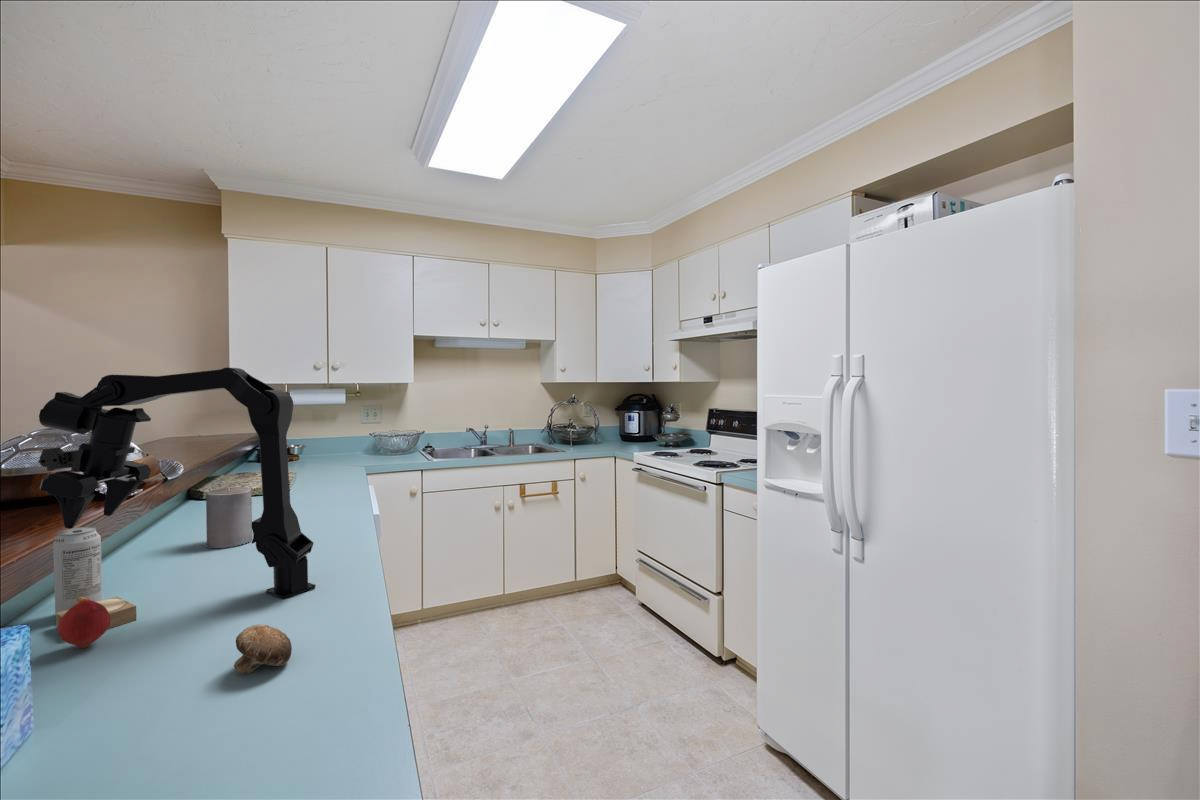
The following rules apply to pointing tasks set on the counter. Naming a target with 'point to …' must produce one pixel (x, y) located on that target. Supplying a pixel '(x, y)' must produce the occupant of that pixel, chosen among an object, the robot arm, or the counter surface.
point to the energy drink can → (77, 567)
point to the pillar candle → (228, 517)
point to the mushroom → (261, 648)
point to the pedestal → (112, 611)
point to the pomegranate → (84, 623)
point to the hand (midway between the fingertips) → (88, 521)
